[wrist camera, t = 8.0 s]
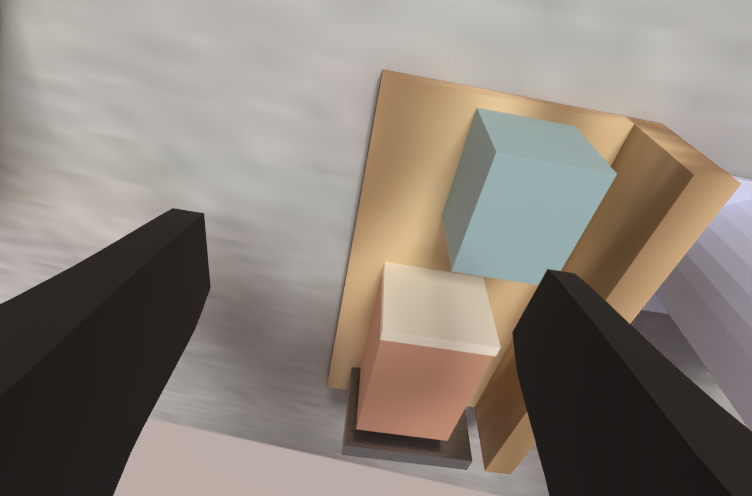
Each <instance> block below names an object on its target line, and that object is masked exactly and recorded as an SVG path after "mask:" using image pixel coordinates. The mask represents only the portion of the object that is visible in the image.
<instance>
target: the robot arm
mask: <svg viewBox="0 0 752 496" xmlns="http://www.w3.org/2000/svg"><path fill="white" fill-rule="evenodd" d="M732 177H733V178H735V179H736V180H737V181H739V182H740V183H741V185H740V186H739V187H738V189H737V190H736V191H735V192H734V194H733V195H732V196H731V198H730V199H729V200H728V201H727V203H726V204H725V205H724V206H723V208H722V209H721V210H720V211H719V213H718V214H717V215H716V216H715V218H714V219H713V220H712V221H711V223H710V224H709V225H708V226H707V228H706V229H705V230H704V232H703V233H702V234H701V235H700V237H699V238H698V239H697V240H696V242H695V243H694V244H693V245H692V247H691V248H690V249H689V250H688V252H687V253H686V254H685V255H684V257H683V258H682V259H681V260H680V262H679V263H678V264H677V265H676V267H675V268H674V269H673V271H672V272H671V273H670V274H669V276H668V277H667V278H666V279H665V281H664V282H663V283H662V284H661V286H660V287H659V288H658V289H657V291H656V292H655V293H654V294H653V296H652V297H651V298H650V299H649V301H648V302H647V303H646V305H645V306H644V307H643V308H642V310H644V311H651V312H657V313H664V314H669V315H670V316H671V318H672V319H673V321H674V322H675V324H676V325H677V326H678V328H679V329H680V331H681V332H682V334H683V335H684V337H685V338H686V339H687V341H688V342H689V344H690V345H691V347H692V348H693V349H694V351H695V352H696V354H697V355H698V357H699V358H700V359H701V361H702V362H703V364H704V365H705V367H706V368H707V370H708V371H709V372H710V374H711V375H712V377H713V378H714V380H715V381H716V382H717V384H718V385H719V387H720V388H721V390H722V391H723V392H724V394H725V395H726V397H727V398H728V400H729V401H730V403H731V404H732V405H733V407H734V408H735V410H736V411H737V413H738V414H739V415H740V417H741V418H742V420H743V421H744V423H745V424H746V426H747V427H748V428H749V429H748V428H747V427H746V426H744V425H743V424H742V423H740V422H739V421H738V420H737V419H736V418H734V417H733V416H732V415H731V414H729V413H728V412H727V411H726V410H725V409H723V408H722V407H721V406H720V405H719V404H717V403H716V402H715V401H714V400H713V399H712V398H711V397H709V396H708V395H707V394H706V393H705V392H704V391H702V390H701V389H700V388H699V387H698V386H697V385H696V384H694V383H693V382H692V381H691V380H690V379H689V378H688V377H686V376H685V375H684V374H683V373H682V372H681V371H680V370H679V369H678V368H676V367H675V366H674V365H673V364H672V363H671V362H670V361H669V360H668V359H667V358H665V357H664V356H663V355H662V354H661V353H660V352H659V351H658V350H657V349H656V348H655V347H654V346H653V345H652V344H650V343H649V342H648V341H647V340H646V339H645V338H644V337H643V336H642V335H641V334H640V333H639V332H638V331H637V330H636V329H635V328H634V327H633V326H632V325H630V324H629V323H628V322H627V321H626V320H625V319H624V318H623V317H622V316H621V315H620V314H619V313H618V312H617V311H616V310H615V309H614V308H613V307H612V306H611V305H610V304H609V303H608V302H606V301H605V300H604V299H603V298H602V297H601V296H600V295H599V294H598V293H597V292H596V291H595V290H594V289H593V288H591V287H590V286H589V285H588V284H587V283H586V282H585V281H584V280H582V279H581V278H580V277H579V276H577V275H576V274H575V273H570V272H563V271H557V270H551V269H547V271H546V273H545V274H544V276H543V278H542V280H541V282H540V283H539V285H538V287H537V289H536V291H535V292H534V294H533V296H532V298H531V300H530V301H529V303H528V305H527V307H526V309H525V310H524V312H523V314H522V316H521V318H520V319H519V321H518V323H517V325H516V327H515V328H514V330H513V332H512V335H513V344H514V353H515V361H516V368H517V375H518V379H519V383H520V387H521V391H522V394H523V398H524V402H525V406H526V409H527V413H528V417H529V420H530V424H531V428H532V431H533V435H534V439H535V442H536V446H537V449H538V453H539V457H540V460H541V464H542V468H543V471H544V475H545V479H546V483H547V487H548V492H549V496H752V180H751V179H746V178H741V177H735V176H732ZM209 290H210V277H209V266H208V254H207V243H206V231H205V219H204V213H199V212H192V211H186V210H180V209H174V208H173V209H171V210H169V211H167V212H165V213H163V214H162V215H160V216H158V217H156V218H155V219H153V220H151V221H150V222H148V223H146V224H145V225H143V226H141V227H140V228H138V229H136V230H135V231H133V232H131V233H130V234H128V235H126V236H125V237H123V238H121V239H120V240H118V241H116V242H114V243H113V244H111V245H109V246H108V247H106V248H104V249H102V250H101V251H99V252H97V253H95V254H94V255H92V256H90V257H89V258H87V259H85V260H83V261H82V262H80V263H78V264H76V265H75V266H73V267H71V268H69V269H67V270H65V271H63V272H61V273H59V274H58V275H56V276H54V277H52V278H50V279H48V280H46V281H44V282H42V283H41V284H39V285H37V286H35V287H33V288H31V289H29V290H27V291H25V292H24V293H22V294H20V295H18V296H16V297H14V298H12V299H10V300H8V301H6V302H4V303H2V304H0V496H113V494H114V492H115V489H116V487H117V485H118V482H119V480H120V477H121V475H122V473H123V470H124V468H125V465H126V463H127V461H128V458H129V456H130V453H131V451H132V449H133V447H134V445H135V443H136V441H137V439H138V437H139V435H140V433H141V431H142V428H143V427H144V425H145V423H146V421H147V419H148V417H149V415H150V414H151V412H152V410H153V408H154V406H155V404H156V402H157V400H158V399H159V397H160V395H161V393H162V391H163V389H164V387H165V385H166V384H167V382H168V380H169V378H170V376H171V374H172V372H173V371H174V369H175V367H176V365H177V363H178V361H179V359H180V357H181V355H182V353H183V352H184V350H185V348H186V346H187V344H188V342H189V340H190V338H191V336H192V334H193V332H194V330H195V328H196V325H197V323H198V320H199V318H200V315H201V312H202V310H203V307H204V304H205V301H206V299H207V296H208V293H209Z"/></svg>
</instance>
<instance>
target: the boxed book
mask: <svg viewBox="0 0 752 496" xmlns="http://www.w3.org/2000/svg"><path fill="white" fill-rule="evenodd" d="M500 348H501V347H500V343H499V339H498V335H497V331H496V327H495V323H494V319H493V315H492V311H491V307H490V303H489V298H488V294H487V290H486V286H485V282H484V278H483V277H478V276H471V275H465V274H459V273H452V272H446V271H440V270H433V269H427V268H421V267H414V266H408V265H402V264H395V263H389V262H385V263H384V267H383V271H382V279H381V283H380V287H379V291H378V295H377V299H376V303H375V307H374V312H373V316H372V320H371V324H370V328H369V332H368V336H367V340H366V344H365V348H364V352H363V356H362V360H361V371H360V384H359V397H358V410H357V424H356V429H358V430H366V431H374V432H382V433H390V434H397V435H405V436H413V437H421V438H429V439H437V440H445V441H448V439H449V437H450V435H451V433H452V431H453V430H454V428H455V426H456V424H457V422H458V420H459V419H460V417H461V415H462V413H463V411H464V409H465V408H466V406H467V404H468V402H469V400H470V398H471V396H472V395H473V393H474V391H475V389H476V387H477V385H478V384H479V382H480V380H481V378H482V376H483V374H484V373H485V371H486V369H487V367H488V365H489V363H490V361H491V360H492V358H493V356H496V355H497V353H498V352H499V350H500Z"/></svg>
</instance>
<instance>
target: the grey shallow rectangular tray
mask: <svg viewBox="0 0 752 496" xmlns="http://www.w3.org/2000/svg"><path fill="white" fill-rule="evenodd" d="M360 371H361V368H355V367H352V368H351V373H350V377H349V381H348V386H347V390H346V397H348V398H347V408H346V418H345V428H344V438H343V448H342V455H349V456H357V457H365V458H374V459H382V460H390V461H398V462H407V463H415V464H423V465H431V466H440V467H448V468H456V469H464V470H467V468H468V467H469V465H470V464H471V462H472V457H471V450H470V443H469V436H468V429H467V422H466V415H465V409H464V411H463V413H462V415H461V417H460V419H459V420H458V422H457V424H456V426H455V428H454V430H453V431H452V433H451V435H450V437H449V439H448V441H445V440H437V439H429V438H421V437H413V436H405V435H397V434H390V433H382V432H374V431H366V430H358V429H356V424H357V410H358V397H359V384H360Z"/></svg>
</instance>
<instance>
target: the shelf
mask: <svg viewBox="0 0 752 496" xmlns="http://www.w3.org/2000/svg"><path fill="white" fill-rule="evenodd" d="M476 108H482V109H488V110H493V111H498V112H503V113H509V114H514V115H519V116H525V117H530V118H535V119H540V120H546V121H551V122H556V123H561V124H567V125H572V126H575V127H576V128H577V129H578V130H579V131H580V132H581V133H582V135H583V136H584V137H585V138H586V139H587V140H588V141H589V143H590V144H591V145H592V146H593V147H594V148H595V149H596V150H597V152H598V153H599V154H600V155H601V156H602V157H603V158H604V160H605V161H606V162H607V163H608V164H609V165H610V166H611V168H612V169H613V170H614V171H615V172H616V173H617V175H616V177H615V179H614V180H613V182H612V184H611V185H610V187H609V189H608V191H607V192H606V194H605V196H604V197H603V199H602V201H601V203H600V204H599V206H598V208H597V210H596V211H595V213H594V215H593V216H592V218H591V220H590V222H589V223H588V225H587V227H586V228H585V230H584V232H583V234H582V235H581V237H580V239H579V240H578V242H577V244H576V246H575V247H574V249H573V251H572V252H571V254H570V256H569V258H568V259H567V261H566V263H565V264H564V266H563V268H562V270H561V271H563V272H570V273H575V274H576V275H577V276H579V277H580V278H581V279H582V280H584V281H585V282H586V283H587V284H588V285H589V286H590V287H591V288H593V289H594V290H595V291H596V292H597V293H598V294H599V295H600V296H601V297H602V298H603V299H604V300H605V301H606V302H608V303H609V304H610V305H611V306H612V307H613V308H614V309H615V310H616V311H617V312H618V313H619V314H620V315H621V316H622V317H623V318H624V319H625V320H626V321H627V322H628V323H629V324H630V323H631V322H632V321H633V320H634V318H635V317H636V316H637V315H638V313H639V312H640V311H641V310H642V308H643V307H644V306H645V305H646V303H647V302H648V301H649V299H650V298H651V297H652V296H653V294H654V293H655V292H656V291H657V289H658V288H659V287H660V286H661V284H662V283H663V282H664V281H665V279H666V278H667V277H668V276H669V274H670V273H671V272H672V271H673V269H674V268H675V267H676V265H677V264H678V263H679V262H680V260H681V259H682V258H683V257H684V255H685V254H686V253H687V252H688V250H689V249H690V248H691V247H692V245H693V244H694V243H695V242H696V240H697V239H698V238H699V237H700V235H701V234H702V233H703V232H704V230H705V229H706V228H707V226H708V225H709V224H710V223H711V221H712V220H713V219H714V218H715V216H716V215H717V214H718V213H719V211H720V210H721V209H722V208H723V206H724V205H725V204H726V203H727V201H728V200H729V199H730V198H731V196H732V195H733V194H734V192H735V191H736V190H737V189H738V187H739V186H740V185H741V183H740V182H739V181H737V180H736V179H735V178H733V177H732V176H731V175H729V174H728V173H727V172H725V171H724V170H723V169H721V168H720V167H719V166H717V165H716V164H715V163H714V162H712V161H711V160H710V159H708V158H707V157H706V156H704V155H703V154H702V153H700V152H699V151H698V150H696V149H695V148H694V147H692V146H691V145H690V144H688V143H687V142H686V141H685V140H683V139H682V138H681V137H679V136H678V135H677V134H675V133H674V132H673V131H671V130H670V129H669V128H667V127H666V126H665V125H663V124H661V123H656V122H651V121H646V120H641V119H635V118H630V117H625V116H620V115H615V114H610V113H604V112H599V111H594V110H589V109H584V108H579V107H573V106H568V105H563V104H558V103H553V102H548V101H542V100H537V99H532V98H527V97H522V96H517V95H511V94H506V93H501V92H496V91H491V90H486V89H481V88H475V87H470V86H465V85H460V84H455V83H450V82H444V81H439V80H434V79H429V78H424V77H419V76H413V75H408V74H403V73H398V72H393V71H388V70H383V71H382V77H381V82H380V88H379V94H378V99H377V105H376V111H375V116H374V122H373V128H372V133H371V139H370V145H369V150H368V156H367V161H366V167H365V173H364V178H363V184H362V190H361V195H360V201H359V207H358V212H357V218H356V224H355V229H354V235H353V241H352V246H351V252H350V258H349V263H348V269H347V275H346V280H345V286H344V292H343V297H342V303H341V309H340V314H339V320H338V326H337V331H336V337H335V343H334V348H333V354H332V360H331V365H330V371H329V377H328V383H327V388H334V389H341V390H347V386H348V381H349V377H350V373H351V368H352V367H355V368H361V360H362V356H363V352H364V348H365V344H366V340H367V336H368V332H369V328H370V324H371V320H372V316H373V312H374V307H375V303H376V299H377V295H378V291H379V287H380V283H381V279H382V271H383V267H384V263H385V262H389V263H395V264H402V265H408V266H414V267H421V268H427V269H433V270H440V271H446V272H451V266H450V259H449V253H448V247H447V241H446V235H445V228H444V222H443V216H442V214H443V211H444V207H445V204H446V201H447V198H448V195H449V192H450V189H451V186H452V183H453V180H454V176H455V173H456V170H457V167H458V164H459V161H460V158H461V155H462V152H463V149H464V145H465V142H466V139H467V136H468V133H469V130H470V127H471V124H472V121H473V118H474V114H475V111H476ZM452 273H457V272H452ZM459 274H464V273H459ZM465 275H470V274H465ZM471 276H476V275H471ZM478 277H483V276H478ZM483 278H484V282H485V286H486V290H487V294H488V298H489V303H490V307H491V311H492V315H493V319H494V323H495V327H496V331H497V335H498V339H499V343H500V347H501V348H500V350H499V352H498V353H497V355H496V356H493V358H492V360H491V361H490V363H489V365H488V367H487V369H486V371H485V373H484V374H483V376H482V378H481V380H480V382H479V384H478V385H477V387H476V389H475V391H474V393H473V395H472V396H471V398H470V400H469V402H468V404H467V406H469V407H474V408H475V414H476V420H477V426H478V432H479V438H480V445H481V451H482V457H483V463H484V469H485V471H488V472H496V473H505V474H511V473H512V472H513V471H514V469H515V468H516V467H517V466H518V464H519V463H520V462H521V461H522V459H523V458H524V457H525V456H526V454H527V453H528V452H529V450H530V449H531V448H532V447H533V445H534V444H535V443H536V442H535V439H534V435H533V431H532V428H531V424H530V420H529V417H528V413H527V409H526V406H525V402H524V398H523V394H522V391H521V387H520V383H519V379H518V375H517V368H516V361H515V353H514V344H513V335H512V332H513V330H514V328H515V327H516V325H517V323H518V321H519V319H520V318H521V316H522V314H523V312H524V310H525V309H526V307H527V305H528V303H529V301H530V300H531V298H532V296H533V294H534V292H535V291H536V289H537V287H538V285H533V284H527V283H521V282H514V281H508V280H502V279H495V278H489V277H483Z"/></svg>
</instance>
